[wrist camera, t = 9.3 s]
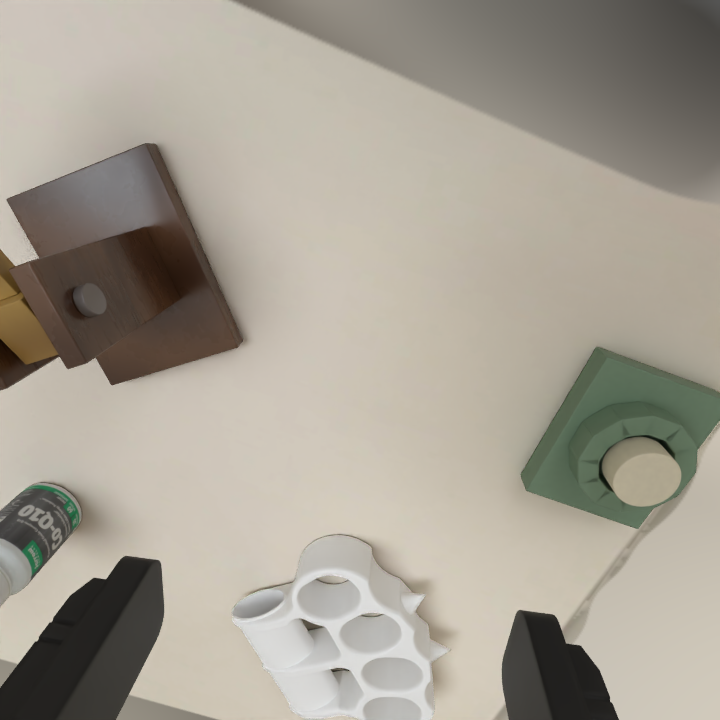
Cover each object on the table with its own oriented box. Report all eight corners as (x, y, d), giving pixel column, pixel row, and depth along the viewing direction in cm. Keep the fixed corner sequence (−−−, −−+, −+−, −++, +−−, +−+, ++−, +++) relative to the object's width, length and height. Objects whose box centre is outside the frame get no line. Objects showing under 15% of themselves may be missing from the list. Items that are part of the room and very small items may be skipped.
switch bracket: (20, 197, 29) (-179, 222, 19) (155, 142, 27) (15, 139, 17) (120, 377, 33) (1, 476, 23) (243, 340, 31) (171, 429, 21)
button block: (596, 346, 30) (620, 369, 27) (716, 390, 30) (753, 418, 27) (519, 475, 34) (532, 509, 30) (627, 512, 34) (650, 549, 31)
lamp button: (622, 427, 28) (635, 444, 27) (679, 448, 29) (695, 465, 27) (589, 476, 30) (600, 495, 28) (644, 495, 30) (658, 515, 28)
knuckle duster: (220, 563, 39) (397, 516, 36) (313, 709, 45) (471, 679, 42) (204, 599, 36) (397, 550, 33) (306, 751, 42) (477, 722, 39)
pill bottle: (96, 521, 38) (18, 616, 30) (47, 537, 39) (-40, 633, 31) (58, 472, 36) (-34, 559, 29) (9, 491, 38) (-93, 580, 30)
